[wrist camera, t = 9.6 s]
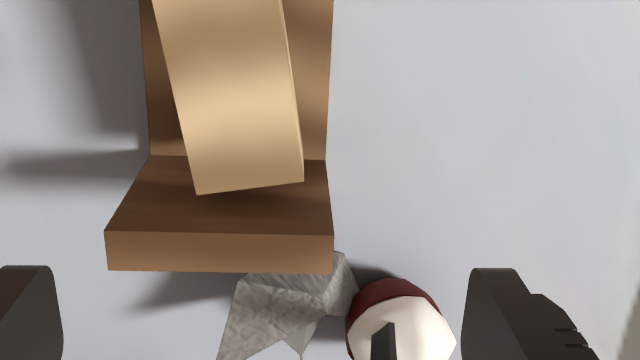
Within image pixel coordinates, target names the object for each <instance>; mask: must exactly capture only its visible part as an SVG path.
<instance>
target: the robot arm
mask: <svg viewBox="0 0 640 360" xmlns="http://www.w3.org/2000/svg"><path fill="white" fill-rule="evenodd" d="M62 352H63V330H62V324H61V318H60V312H59V306H58V300H57V294H56V288H55V282H54V276H53V273H52V271H51V269H50V268H49V267H48V266H34V265H6V266H3V267H2V268H1V269H0V360H61V357H62ZM461 355H462V360H599V358H598V357H597V355H596V354H595V353H594V351H593V350H592V348H589V347H588V343H587V342H586V340H585V339H584V337H583V336H582V335H581V333H580V332H577V328H576V326H575V325H574V323H573V322H572V321H571V319H570V318H569V316H568V315H567V314H566V312H565V311H564V310H563V309H562V308H560V307H559V306H558V305H556V304H555V303H554V302H552V301H551V300H549V299H548V298H547V297H545V296H544V295H543V294H531V293H530V292H529V290H528V289H527V287H526V286H525V284H524V283H523V281H522V280H521V278H520V277H519V275H518V274H517V272H516V271H515V270H514V269H512V268H474V269H473V270H472V271H471V274H470V277H469V283H468V290H467V297H466V303H465V310H464V317H463V324H462V331H461Z"/></svg>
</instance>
